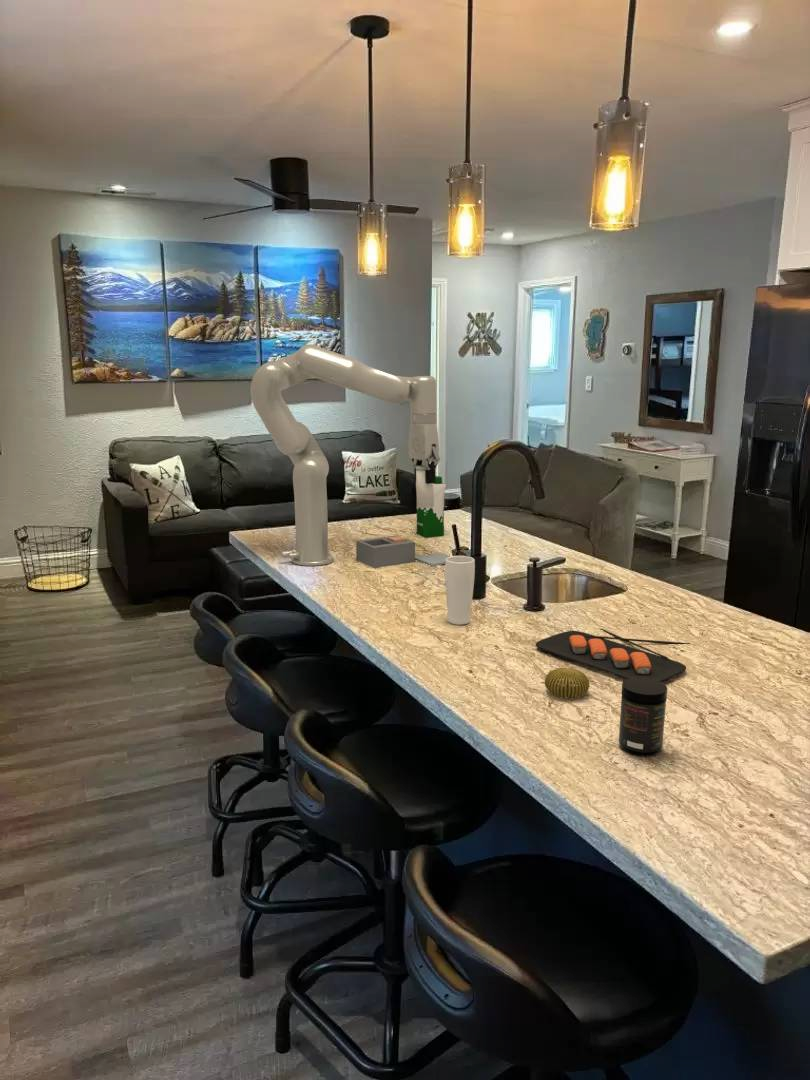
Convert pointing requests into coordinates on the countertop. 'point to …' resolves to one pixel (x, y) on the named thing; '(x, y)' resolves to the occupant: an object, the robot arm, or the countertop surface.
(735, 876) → the countertop surface
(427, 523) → the milk carton
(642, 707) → the supplement container
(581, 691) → the sculpture
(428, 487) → the cartridge
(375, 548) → the box
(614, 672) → the sushi plate
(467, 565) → the drinking glass
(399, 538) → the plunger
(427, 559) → the mat
